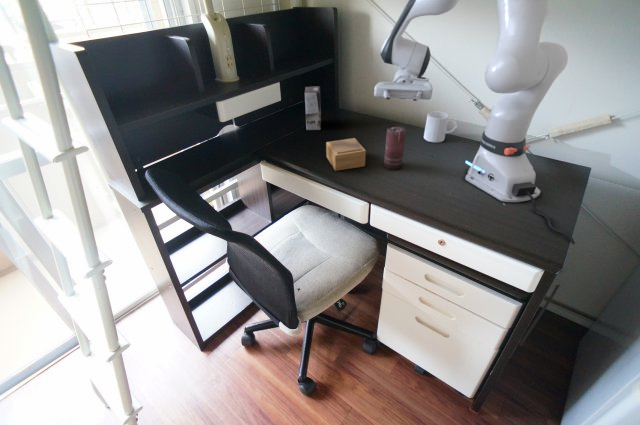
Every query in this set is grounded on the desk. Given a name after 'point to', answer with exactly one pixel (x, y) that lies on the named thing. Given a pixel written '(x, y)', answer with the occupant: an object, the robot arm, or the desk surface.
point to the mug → (437, 126)
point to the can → (394, 147)
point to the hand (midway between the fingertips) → (401, 97)
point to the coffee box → (313, 108)
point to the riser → (345, 154)
